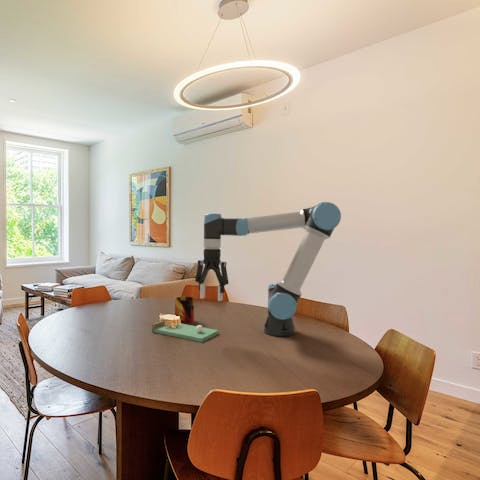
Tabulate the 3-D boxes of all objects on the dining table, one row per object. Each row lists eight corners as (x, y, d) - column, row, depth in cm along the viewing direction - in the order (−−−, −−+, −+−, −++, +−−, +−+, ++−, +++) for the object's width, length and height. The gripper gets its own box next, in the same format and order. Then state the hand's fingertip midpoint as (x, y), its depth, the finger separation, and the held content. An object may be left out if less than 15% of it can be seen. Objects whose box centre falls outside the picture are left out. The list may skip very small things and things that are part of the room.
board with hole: (218, 333, 159) (219, 326, 158) (201, 342, 146) (201, 333, 146) (171, 324, 172) (171, 317, 172) (152, 331, 159) (152, 324, 159)
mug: (192, 326, 171) (193, 302, 170) (170, 321, 177) (171, 299, 177) (203, 321, 179) (203, 298, 179) (182, 317, 186) (182, 295, 185)
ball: (204, 331, 156) (204, 324, 156) (200, 333, 153) (200, 326, 153) (198, 330, 157) (198, 323, 157) (194, 332, 154) (194, 325, 154)
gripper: (237, 249, 149) (236, 300, 150) (197, 247, 160) (196, 295, 160) (228, 249, 143) (227, 303, 143) (187, 247, 153) (186, 297, 154)
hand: (211, 299), depth 152 cm, fingers open, 9 cm apart
